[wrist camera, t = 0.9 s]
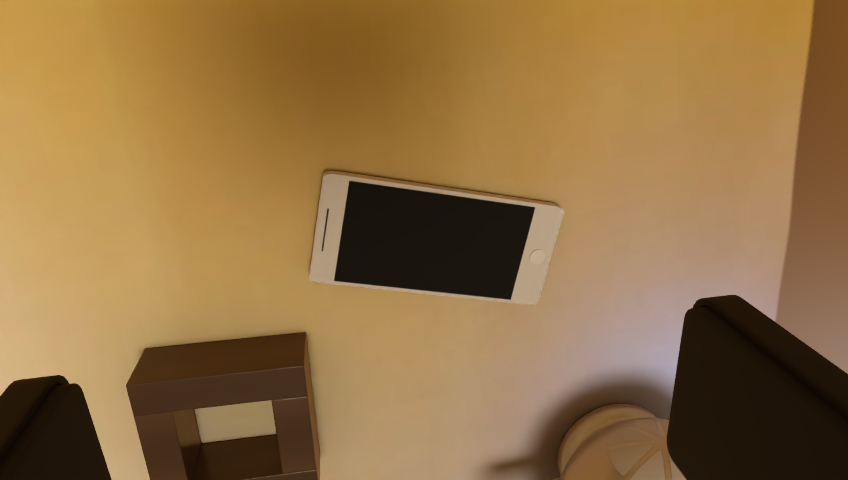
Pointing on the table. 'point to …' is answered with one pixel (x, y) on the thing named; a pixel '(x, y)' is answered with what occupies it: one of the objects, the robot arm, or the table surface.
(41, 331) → the table surface
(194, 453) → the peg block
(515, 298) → the smartphone
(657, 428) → the teapot
